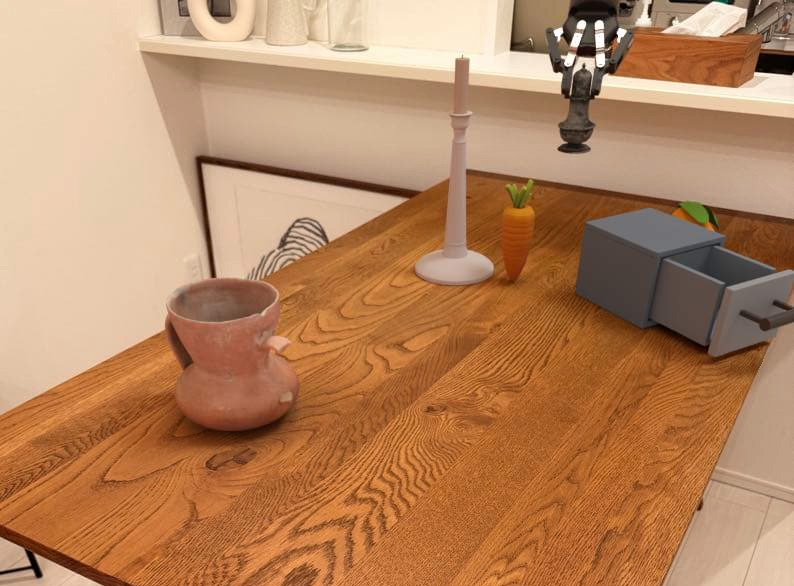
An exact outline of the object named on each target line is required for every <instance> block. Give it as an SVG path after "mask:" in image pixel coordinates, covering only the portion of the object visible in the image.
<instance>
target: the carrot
mask: <svg viewBox="0 0 794 586" xmlns="http://www.w3.org/2000/svg"><path fill="white" fill-rule="evenodd" d="M533 185H534V180H533V179H528V181H527V183H526V185H522V187H521V189H520V190H519V191H518V188H517V185H516V183H513V184H512V185H511V184H510V183H507V184H506V185H505V188H504V189H506V192H507V193H508V195H509V197H510V200H511V202H512V204H511V205H508V206H506V207H505V208H504V209H503V211H502V215H501V252H502V259H503V264H504V268H505V271H506V273H507V277H508V279H509V280H510V281H511V282H512V283H514V282H515V281H516V280H518V278H519V276H520V275H521V273H522V272H523V270H524V268H525V266H526V263H527V260H528V257H529V254H530V251H531V246H532V242H533V235H534V229H535V222H536V221H535V220H536V214H535V211H534V208H532V206H530V205H528V204H526V203H527V201H528V200H529V199H530V197H531V196H532V193H531V191H532V188H533Z"/></svg>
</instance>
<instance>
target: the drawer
mask: <svg viewBox="0 0 794 586" xmlns="http://www.w3.org/2000/svg"><path fill="white" fill-rule="evenodd" d="M776 271H777V268H776V267H773V266H771V265H769V264H766V263H764V262H761V261H759V260H755V259H753V258H750V257H748V256H745V255H742V254H740V253H738V252H735V251H733V250H729V249H727V248H725V247H723V248H722V247H720V246H717V245H714V244H713V245H709V246H705V247H701V248H697V249H693V250H689V251H685V252H681V253H677V254H673V255H669V256H666V257H662V258H661V260H660V264H659V269H658V274H657V278H656V283H655V288H654V292H653V297H652V302H651V306H650V311H649V316H648V318H650V319H652V320H654V321H656V322H658V323H660V324H659V325H662V326H664V327H666V328H668V329H670V330H672V331H674V332H676V333H678V334H679V335H682V336H684V337H686V338H688V339H690V340H691V341H693V342H695V343H697V344H700V345H702V346H704V347H707V346H708V345H709V346H708V351H707V354H708V355H709V356H711V357H714V358H716V357H719V356H722V355H725V354H728V353H731V352H735V351H738V350H740V349H743V348H746V347H750V346H753V345H755V344H759V343H762V342H764V341H768V340H771V339H774V338H776V337H777V334H778V331H779V328H781V327H784V326H787V325H790V324H793V323H794V306H793V305H791V304H789V303H788V301H789V298H790V295H791V292H792V289H793V286H794V270H792V269H786V270H783V271H779V272H776Z"/></svg>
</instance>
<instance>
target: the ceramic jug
mask: <svg viewBox="0 0 794 586" xmlns="http://www.w3.org/2000/svg"><path fill="white" fill-rule="evenodd" d="M165 306H166V311H167V314H166V317H165V321H164V333H165V338H166V341H167V343H168V346H169V348H170V350H171V352H172V354H173V356H174V357H175V359H176V361H177V362H178V364H179V366H180V368H181V369H182V372H181V374H180V375H179V376H178V378H177V380H176V383H175V385H174V390H173V397H174V401H175V403H176V405H177V408H178V409H179V411H180V412H181V413H182V415H184V417H185V418H187V419H188V420H190V421H191V422H193V423H194V424H195V425H198V426H201V427H204V428H205V429H210V430H214V431H222V432H243V431H249V430H253V429H259V428H262V427H264V426H266V425H269V424H271V423H273V422H275V421H277V420H279V419H280V418H282V417H283V416H284V415H286V414H287V413H288V412H289V411H290V410H291V409H292V408H293V407H294V405H295V403H296V401H297V399H298V396H299V392H300V379H299V376H298V373H297V370H295V368H294V367H293V366H292V365H291V364H290V363H289V362H287V360H285V359H283V357H280V356H278V355H283V354H284V352H285V351H286V349H287V348H288V347H290V346H291V345H292V342H291V341H290V340H289V339H288V338H287V337H284V336H281V335H275V330H276V328H277V326H278V323H279V320H280V319H279V318H280V311H281V297H280V292H279V291H278V289H277V288H276V287H275V286H274V285H272V284H271V283H268V282H266V281H264V280H258V279H251V278H240V277H213V278H212V277H211V278H203V279H200V280H195V281H194V282H188V283H186V284H182V285H181V286H179V287H177V288H175V290H174V291H173V292H171V293H170V294H169V295H168V297H167V298H166V305H165ZM271 350H273V351H274V352H276V354H274V353H271Z"/></svg>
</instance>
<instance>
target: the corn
mask: <svg viewBox="0 0 794 586" xmlns="http://www.w3.org/2000/svg"><path fill="white" fill-rule="evenodd" d="M671 215H672V216H674V217H677V218H680V219H682V220H685V221H688V222H690V223H693V224H696V225H698V226H701V227H704V228H707V229H709V230H712V231H715V229H714V227H715V228H716V230H717V232H719V231H720V229H719V221H718V218H717V216H716V214H715V213H714V212H713V210H712V209H711V208H710V207H709V206H708V205H706V204H702V203H700V202H698V201H691V200H685V201H683V202H679V203H678V204H677V209H675V210H674V211H673V212H672V213H671ZM712 225H713V226H714V227H713V226H712Z"/></svg>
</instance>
